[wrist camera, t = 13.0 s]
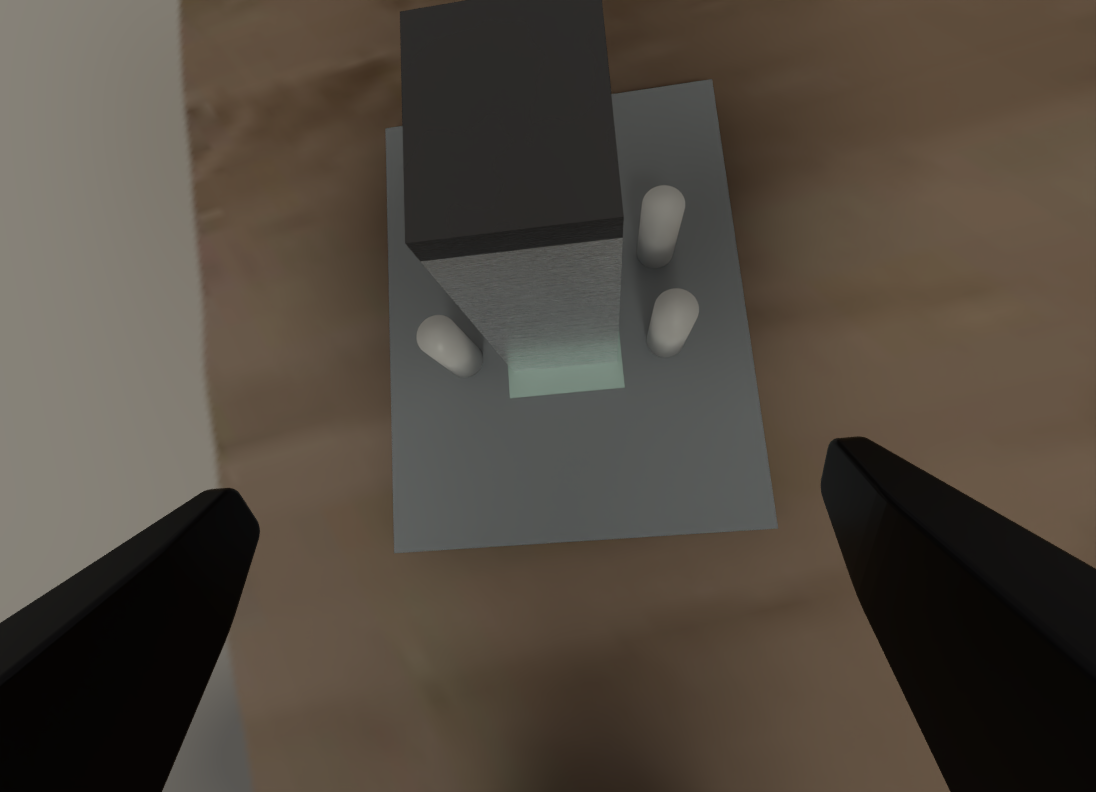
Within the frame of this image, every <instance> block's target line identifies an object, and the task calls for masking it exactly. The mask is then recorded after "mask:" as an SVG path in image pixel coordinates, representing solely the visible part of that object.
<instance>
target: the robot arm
mask: <svg viewBox="0 0 1096 792" xmlns="http://www.w3.org/2000/svg"><path fill="white" fill-rule="evenodd" d="M821 492H822V497H823V500H824V503H825V506H826V509H827V512H828V514H829V517H830V520H831V523H832V526H833V529H834V532H835V535H836V538H837V540H838V543H839V546H840V549H841V552H842V555H843V558H844V561H845V564H846V567H847V569H848V572H849V575H850V578H851V581H852V583H853V586H854V589H855V591H856V594H857V597H858V599H859V601H860V603H861V606H862V608H863V610H864V612H865V614H866V616H867V619H868V621H869V623H870V625H871V627H872V629H873V631H874V633H875V635H876V637H877V639H878V641H879V644H880V646H881V648H882V650H883V652H884V654H885V656H886V658H887V660H888V662H889V664H890V667H891V669H892V671H893V673H894V675H895V677H896V679H897V681H898V683H899V685H900V687H901V689H902V692H903V694H904V696H905V698H906V700H907V702H908V704H909V706H910V708H911V710H912V712H913V715H914V717H915V719H916V721H917V723H918V725H919V727H920V729H921V731H922V733H923V735H924V737H925V740H926V742H927V744H928V746H929V748H930V750H931V752H932V754H933V756H934V758H935V760H936V763H937V765H938V767H939V769H940V771H941V773H942V775H943V777H944V779H945V781H946V783H947V785H948V788H949V790H950V792H1096V569H1095V568H1093V567H1092V566H1090V565H1088V564H1086V563H1085V562H1083V561H1081V560H1079V559H1078V558H1076V557H1074V556H1072V555H1071V554H1069V553H1067V552H1065V551H1064V550H1062V549H1060V548H1058V547H1057V546H1055V545H1053V544H1051V543H1050V542H1048V541H1046V540H1044V539H1043V538H1041V537H1039V536H1037V535H1036V534H1034V533H1032V532H1030V531H1029V530H1027V529H1025V528H1023V527H1022V526H1020V525H1018V524H1016V523H1015V522H1013V521H1011V520H1009V519H1008V518H1006V517H1004V516H1002V515H1001V514H999V513H997V512H995V511H994V510H992V509H990V508H988V507H987V506H985V505H983V504H981V503H980V502H978V501H976V500H974V499H973V498H971V497H969V496H967V495H966V494H964V493H962V492H960V491H959V490H957V489H955V488H953V487H952V486H950V485H948V484H946V483H945V482H943V481H941V480H939V479H938V478H936V477H934V476H932V475H931V474H929V473H927V472H925V471H924V470H922V469H920V468H918V467H917V466H915V465H913V464H911V463H910V462H908V461H906V460H904V459H903V458H901V457H899V456H897V455H896V454H894V453H892V452H890V451H889V450H887V449H885V448H883V447H882V446H880V445H878V444H876V443H875V442H873V441H871V440H869V439H867V438H865V437H846V438H836V439H834V440H832V441H831V442H830V444H829V446H828V450H827V455H826V459H825V464H824V469H823V474H822V478H821ZM259 534H260V528H259V524H258V521H257V520H256V518H255V516H254V515H253V513H252V512H251V510H250V509H249V507H248V506H247V504H246V503H245V501H244V500H243V498H242V496H241V495H240V494H239V492H238V491H236V490H235V489H232V488H220V489H210V490H206V491H203V492H202V493H200V494H199V495H197V496H195V497H194V498H192V499H191V500H189V501H188V502H186V503H185V504H183V505H182V506H180V507H178V508H177V509H175V510H174V511H172V512H171V513H169V514H168V515H166V516H165V517H163V518H162V519H160V520H158V521H157V522H155V523H154V524H152V525H151V526H149V527H148V528H146V529H145V530H143V531H141V532H140V533H138V534H137V535H135V536H134V537H132V538H131V539H129V540H128V541H126V542H125V543H123V544H121V545H120V546H118V547H117V548H115V549H114V550H112V551H111V552H109V553H108V554H106V555H104V556H103V557H102V558H100V559H98V560H97V561H95V562H94V563H92V564H91V565H89V566H87V567H86V568H84V569H83V570H81V571H80V572H78V573H77V574H75V575H74V576H72V577H70V578H69V579H68V580H66V581H65V582H63V583H61V584H60V585H58V586H57V587H55V588H54V589H52V590H50V591H49V592H47V593H46V594H45V595H43V596H41V597H40V598H38V599H37V600H35V601H33V602H32V603H30V604H29V605H27V606H26V607H24V608H23V609H21V610H20V611H18V612H17V613H15V614H14V615H12V616H10V617H9V618H7V619H6V620H4V621H3V622H1V623H0V792H162V790H163V788H164V785H165V783H166V781H167V779H168V776H169V774H170V771H171V769H172V767H173V764H174V762H175V760H176V757H177V755H178V752H179V750H180V748H181V745H182V743H183V740H184V738H185V736H186V733H187V731H188V729H189V726H190V724H191V722H192V719H193V717H194V714H195V712H196V710H197V707H198V705H199V703H200V700H201V698H202V695H203V693H204V691H205V688H206V686H207V684H208V681H209V679H210V676H211V674H212V672H213V669H214V667H215V665H216V662H217V660H218V657H219V655H220V653H221V650H222V648H223V646H224V643H225V641H226V638H227V636H228V633H229V631H230V628H231V625H232V622H233V619H234V616H235V613H236V610H237V607H238V604H239V601H240V597H241V594H242V591H243V588H244V584H245V581H246V578H247V575H248V572H249V568H250V565H251V562H252V559H253V556H254V552H255V549H256V546H257V543H258V540H259Z"/></svg>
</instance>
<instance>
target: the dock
mask: <svg viewBox="0 0 1096 792" xmlns="http://www.w3.org/2000/svg"><path fill="white" fill-rule="evenodd" d="M611 96H612V106H613V116H614V126H615V135H616V145H617V155H618V165H619V175H620V185H621V194H622V204H623V214H624V222H623V245H622V267H621V289H620V311H619V333H618V356H617V362H611V363H600V364H589V365H579V366H568V367H558V368H547V369H536V370H526V371H515V372H514V371H513V370H512V369H511V368H510V367H509V366H508V364H507V363H506V362H505V361H504V360H503V358H502V357H501V356H500V355H499V354H498V353H497V351H496V350H495V349H494V348H493V347H492V345H491V344H490V343H489V342H488V341H487V340H486V338H485V337H484V336H483V335H482V334H481V332H480V331H479V330H478V329H477V328H476V327H475V325H474V324H473V323H472V322H471V321H470V319H469V318H468V317H467V316H466V315H465V314H464V312H463V311H462V310H461V309H460V308H459V307H458V305H457V304H456V303H455V302H454V301H453V299H452V298H451V297H450V296H449V295H448V294H447V292H446V291H445V290H444V289H443V288H442V286H441V285H440V284H439V283H438V282H437V281H436V279H435V278H434V277H433V276H432V275H431V273H430V272H429V271H428V270H427V269H426V268H425V266H424V265H423V264H422V263H421V262H420V260H419V259H418V258H417V257H416V256H415V255H414V253H413V252H412V251H411V250H410V249H409V248H408V246H407V245H406V244H405V220H404V173H403V126H399V127H392V128H386V175H387V224H388V274H389V323H390V372H391V421H392V471H393V520H394V553H404V552H419V551H435V550H450V549H466V548H481V547H497V546H513V545H528V544H544V543H559V542H575V541H590V540H606V539H621V538H637V537H653V536H668V535H684V534H699V533H715V532H730V531H746V530H761V529H777V528H778V524H777V518H776V511H775V504H774V497H773V490H772V484H771V477H770V470H769V463H768V456H767V450H766V443H765V436H764V429H763V422H762V416H761V409H760V402H759V395H758V388H757V382H756V375H755V368H754V361H753V354H752V348H751V341H750V334H749V327H748V320H747V314H746V307H745V300H744V293H743V286H742V280H741V273H740V266H739V259H738V252H737V246H736V239H735V232H734V225H733V218H732V212H731V205H730V198H729V191H728V184H727V178H726V171H725V164H724V157H723V150H722V144H721V137H720V130H719V123H718V116H717V110H716V103H715V96H714V89H713V82H712V79H709V80H703V81H696V82H690V83H683V84H676V85H670V86H663V87H657V88H650V89H643V90H637V91H630V92H623V93H617V94H611Z"/></svg>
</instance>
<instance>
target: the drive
mask: <svg viewBox="0 0 1096 792" xmlns="http://www.w3.org/2000/svg"><path fill="white" fill-rule="evenodd" d="M400 33H401V80H402V126H403V173H404V220H405V244H406V245H407V246H408V248H409V249H410V250H411V251H412V252H413V253H414V255H415V256H416V257H417V258H418V259H419V260H420V262H421V263H422V264H423V265H424V266H425V268H426V269H427V270H428V271H429V272H430V273H431V275H432V276H433V277H434V278H435V279H436V281H437V282H438V283H439V284H440V285H441V286H442V288H443V289H444V290H445V291H446V292H447V294H448V295H449V296H450V297H451V298H452V299H453V301H454V302H455V303H456V304H457V305H458V307H459V308H460V309H461V310H462V311H463V312H464V314H465V315H466V316H467V317H468V318H469V319H470V321H471V322H472V323H473V324H474V325H475V327H476V328H477V329H478V330H479V331H480V332H481V334H482V335H483V336H484V337H485V338H486V340H487V341H488V342H489V343H490V344H491V345H492V347H493V348H494V349H495V350H496V351H497V353H498V354H499V355H500V356H501V357H502V358H503V360H504V361H505V362H506V363H507V364H508V366H509V367H510V368H511V369H512V370H513V371H514V372H515V371H526V370H536V369H547V368H558V367H568V366H579V365H589V364H600V363H611V362H617V356H618V333H619V311H620V289H621V267H622V245H623V222H624V214H623V204H622V194H621V185H620V175H619V165H618V155H617V145H616V135H615V126H614V116H613V106H612V96H611V86H610V76H609V67H608V57H607V47H606V37H605V27H604V17H603V8H602V0H466V1H460V2H454V3H448V4H442V5H436V6H431V7H425V8H419V9H413V10H407V11H401V12H400Z"/></svg>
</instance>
